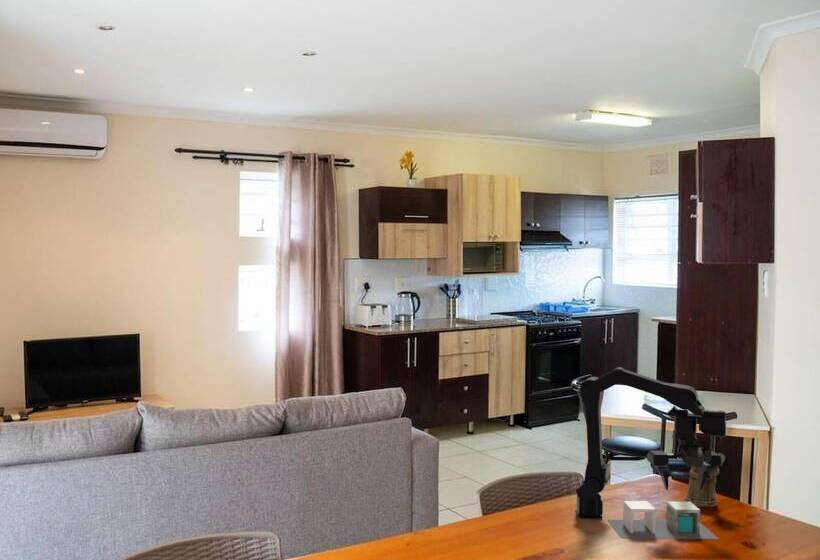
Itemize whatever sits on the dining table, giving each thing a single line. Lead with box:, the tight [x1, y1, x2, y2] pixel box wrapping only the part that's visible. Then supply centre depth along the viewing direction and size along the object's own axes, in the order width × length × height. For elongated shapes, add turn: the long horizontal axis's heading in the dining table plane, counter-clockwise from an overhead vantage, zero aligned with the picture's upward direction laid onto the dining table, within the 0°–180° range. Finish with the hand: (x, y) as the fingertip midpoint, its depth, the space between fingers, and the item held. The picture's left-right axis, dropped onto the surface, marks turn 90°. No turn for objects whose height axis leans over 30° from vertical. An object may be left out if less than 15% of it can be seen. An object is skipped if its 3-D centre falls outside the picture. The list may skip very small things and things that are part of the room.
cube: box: [678, 512, 693, 532], centre depth 207 cm, size 4×4×4 cm
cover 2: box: [665, 501, 701, 534], centre depth 207 cm, size 7×7×6 cm
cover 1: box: [622, 500, 657, 533], centre depth 206 cm, size 7×7×6 cm
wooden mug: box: [684, 451, 726, 508], centre depth 228 cm, size 9×14×18 cm, turn 10°
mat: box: [606, 519, 719, 540], centre depth 207 cm, size 26×14×1 cm, turn 91°
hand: (683, 489), depth 207 cm, fingers open, 9 cm apart
